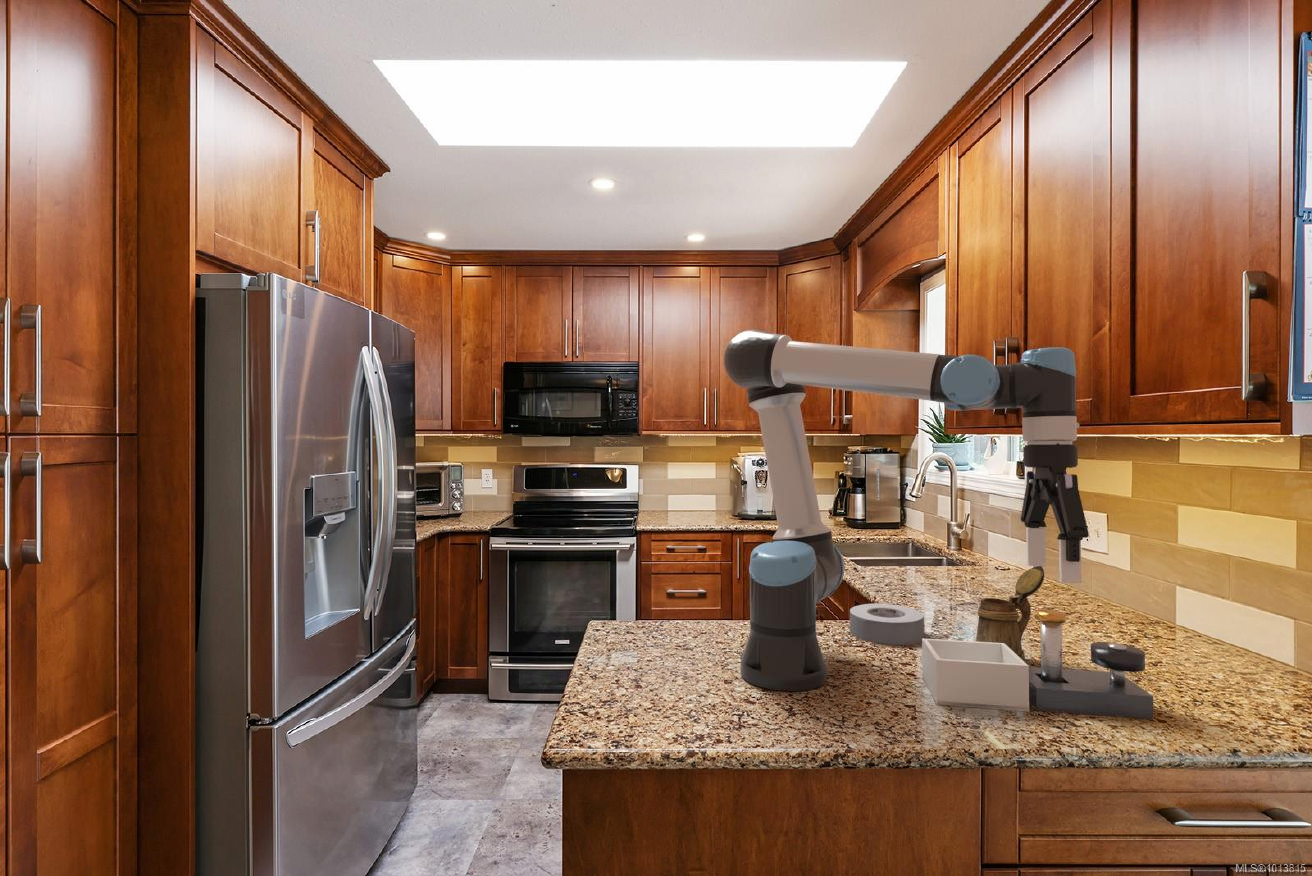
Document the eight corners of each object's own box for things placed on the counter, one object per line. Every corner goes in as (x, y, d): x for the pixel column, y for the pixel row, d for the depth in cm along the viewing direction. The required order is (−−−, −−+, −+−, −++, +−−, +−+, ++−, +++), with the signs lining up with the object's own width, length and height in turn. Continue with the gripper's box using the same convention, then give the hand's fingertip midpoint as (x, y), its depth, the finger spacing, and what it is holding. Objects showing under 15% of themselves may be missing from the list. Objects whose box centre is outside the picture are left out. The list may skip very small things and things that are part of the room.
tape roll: (875, 648, 129) (875, 624, 129) (836, 627, 143) (836, 605, 144) (940, 643, 132) (939, 618, 132) (896, 623, 147) (895, 601, 147)
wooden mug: (1059, 666, 118) (1058, 570, 118) (989, 667, 117) (988, 571, 117) (1028, 650, 127) (1027, 561, 127) (963, 652, 126) (962, 562, 126)
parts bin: (937, 704, 100) (936, 660, 101) (922, 678, 112) (922, 638, 112) (1029, 711, 98) (1028, 665, 98) (1004, 684, 109) (1004, 643, 109)
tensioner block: (1036, 710, 98) (1036, 649, 98) (1014, 686, 108) (1013, 631, 108) (1161, 720, 95) (1160, 657, 95) (1126, 694, 104) (1125, 637, 104)
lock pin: (1043, 703, 101) (1042, 615, 101) (1033, 694, 105) (1032, 608, 105) (1070, 706, 100) (1070, 616, 100) (1060, 696, 104) (1059, 610, 104)
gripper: (1114, 442, 90) (1117, 591, 89) (1044, 443, 114) (1047, 560, 114) (1056, 443, 91) (1058, 589, 91) (999, 443, 116) (1001, 559, 115)
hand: (1052, 573), depth 102 cm, fingers open, 13 cm apart
